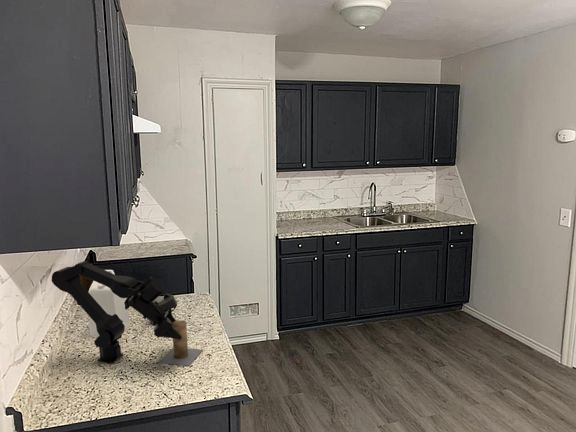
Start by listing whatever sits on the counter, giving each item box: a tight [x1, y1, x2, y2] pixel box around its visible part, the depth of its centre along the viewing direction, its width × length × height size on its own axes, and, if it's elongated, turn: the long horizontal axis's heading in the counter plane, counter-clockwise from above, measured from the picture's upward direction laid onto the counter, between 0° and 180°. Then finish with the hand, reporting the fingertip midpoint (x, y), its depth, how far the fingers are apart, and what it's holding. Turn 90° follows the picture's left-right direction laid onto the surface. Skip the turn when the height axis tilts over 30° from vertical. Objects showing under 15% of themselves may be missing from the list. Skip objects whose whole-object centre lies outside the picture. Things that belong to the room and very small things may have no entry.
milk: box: [88, 269, 132, 337], centre depth 186 cm, size 12×12×26 cm
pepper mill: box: [172, 319, 188, 359], centre depth 162 cm, size 5×5×12 cm
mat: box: [157, 347, 204, 367], centre depth 164 cm, size 12×12×1 cm
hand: (180, 333), depth 162 cm, fingers open, 9 cm apart
